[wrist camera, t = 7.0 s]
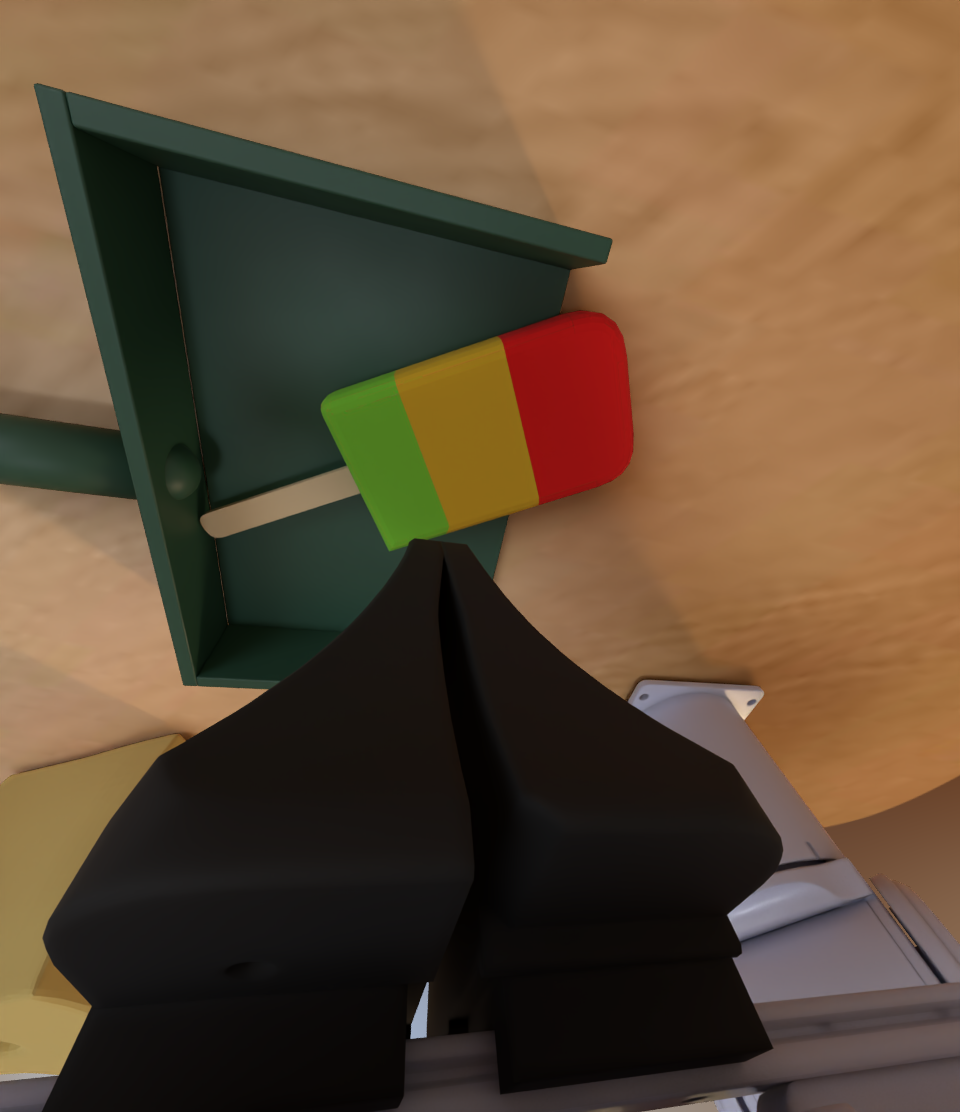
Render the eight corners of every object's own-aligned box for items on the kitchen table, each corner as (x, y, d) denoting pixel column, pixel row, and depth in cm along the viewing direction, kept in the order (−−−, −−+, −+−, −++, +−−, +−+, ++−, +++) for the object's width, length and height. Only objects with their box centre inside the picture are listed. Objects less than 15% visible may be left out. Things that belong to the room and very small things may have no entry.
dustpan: (573, 250, 12) (613, 239, 10) (475, 644, 21) (482, 699, 18) (-354, 10, 9) (-723, -124, 6) (-26, 610, 17) (-116, 673, 14)
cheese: (133, 854, 27) (3, 1103, 19) (-7, 766, 22) (-285, 1069, 13) (284, 819, 27) (219, 1057, 19) (183, 719, 21) (21, 1000, 13)
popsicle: (621, 460, 16) (642, 479, 14) (258, 573, 17) (240, 602, 15) (603, 296, 13) (628, 296, 11) (166, 445, 14) (131, 464, 12)
